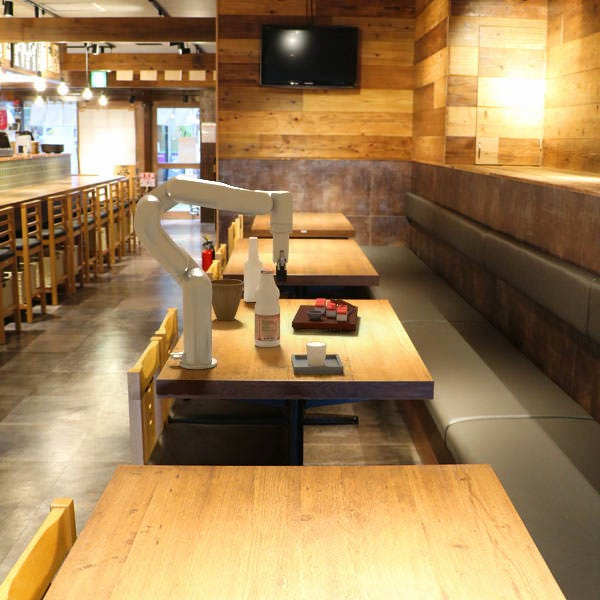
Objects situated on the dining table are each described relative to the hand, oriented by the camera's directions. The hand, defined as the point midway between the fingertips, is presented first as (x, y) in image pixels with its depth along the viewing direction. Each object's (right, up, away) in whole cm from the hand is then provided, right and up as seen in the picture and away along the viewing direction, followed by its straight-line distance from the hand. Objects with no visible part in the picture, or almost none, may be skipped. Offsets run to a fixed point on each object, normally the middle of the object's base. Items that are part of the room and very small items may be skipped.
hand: (281, 279), depth 280 cm
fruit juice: (-6, -24, +28) cm, 37 cm away
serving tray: (+12, -29, -3) cm, 32 cm away
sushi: (+17, -17, +63) cm, 68 cm away
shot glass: (+12, -28, -3) cm, 31 cm away
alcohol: (-15, -8, +109) cm, 110 cm away
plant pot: (-25, -15, +71) cm, 76 cm away
